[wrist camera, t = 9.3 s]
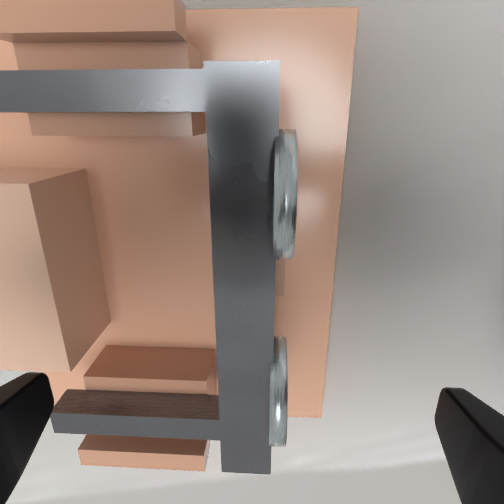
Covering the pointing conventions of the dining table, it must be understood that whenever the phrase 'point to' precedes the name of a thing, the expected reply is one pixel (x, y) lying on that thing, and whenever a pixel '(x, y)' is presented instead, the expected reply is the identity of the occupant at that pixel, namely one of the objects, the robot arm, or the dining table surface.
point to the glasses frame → (223, 248)
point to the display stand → (157, 207)
